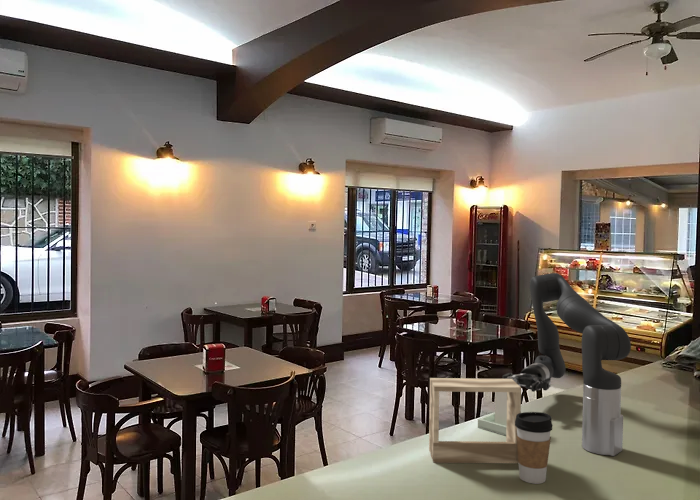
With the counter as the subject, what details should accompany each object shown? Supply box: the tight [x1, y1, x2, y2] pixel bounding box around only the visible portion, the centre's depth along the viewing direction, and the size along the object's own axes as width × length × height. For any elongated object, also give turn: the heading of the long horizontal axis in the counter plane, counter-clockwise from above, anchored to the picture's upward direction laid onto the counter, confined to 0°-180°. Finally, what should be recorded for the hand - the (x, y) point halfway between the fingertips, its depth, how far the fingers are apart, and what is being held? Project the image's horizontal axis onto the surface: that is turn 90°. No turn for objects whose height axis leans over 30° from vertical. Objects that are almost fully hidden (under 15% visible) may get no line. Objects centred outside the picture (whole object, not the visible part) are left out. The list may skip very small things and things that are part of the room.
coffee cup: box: [515, 411, 553, 485], centre depth 133 cm, size 8×8×15 cm
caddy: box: [494, 392, 507, 426], centre depth 167 cm, size 5×5×12 cm
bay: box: [428, 377, 522, 464], centre depth 146 cm, size 8×22×19 cm, turn 90°
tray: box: [477, 411, 506, 437], centre depth 167 cm, size 12×12×2 cm
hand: (518, 386), depth 176 cm, fingers open, 8 cm apart
